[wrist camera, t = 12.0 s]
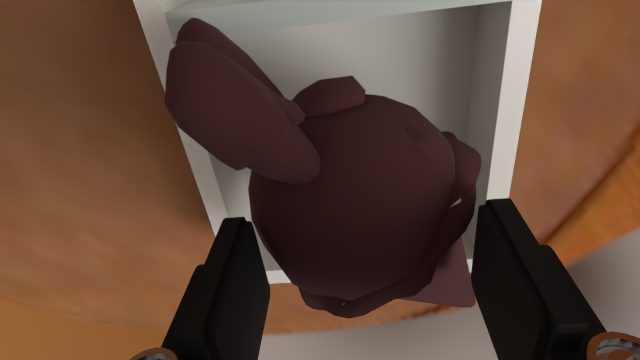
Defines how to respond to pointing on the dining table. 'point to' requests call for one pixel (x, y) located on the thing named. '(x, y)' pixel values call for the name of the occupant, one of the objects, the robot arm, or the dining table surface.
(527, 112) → the dining table surface
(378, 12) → the white divided tray
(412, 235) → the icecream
